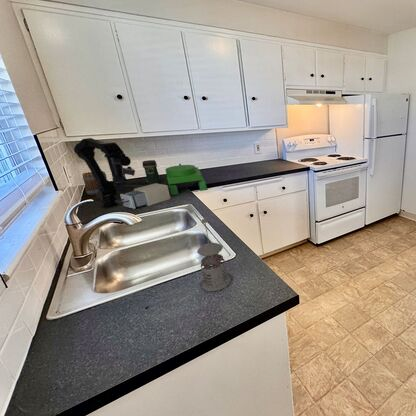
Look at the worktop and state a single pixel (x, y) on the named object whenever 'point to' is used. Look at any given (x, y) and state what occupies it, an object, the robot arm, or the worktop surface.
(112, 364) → the worktop surface
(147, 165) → the coffee jar
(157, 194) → the grey box
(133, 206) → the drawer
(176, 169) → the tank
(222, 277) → the french press
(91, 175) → the mug
